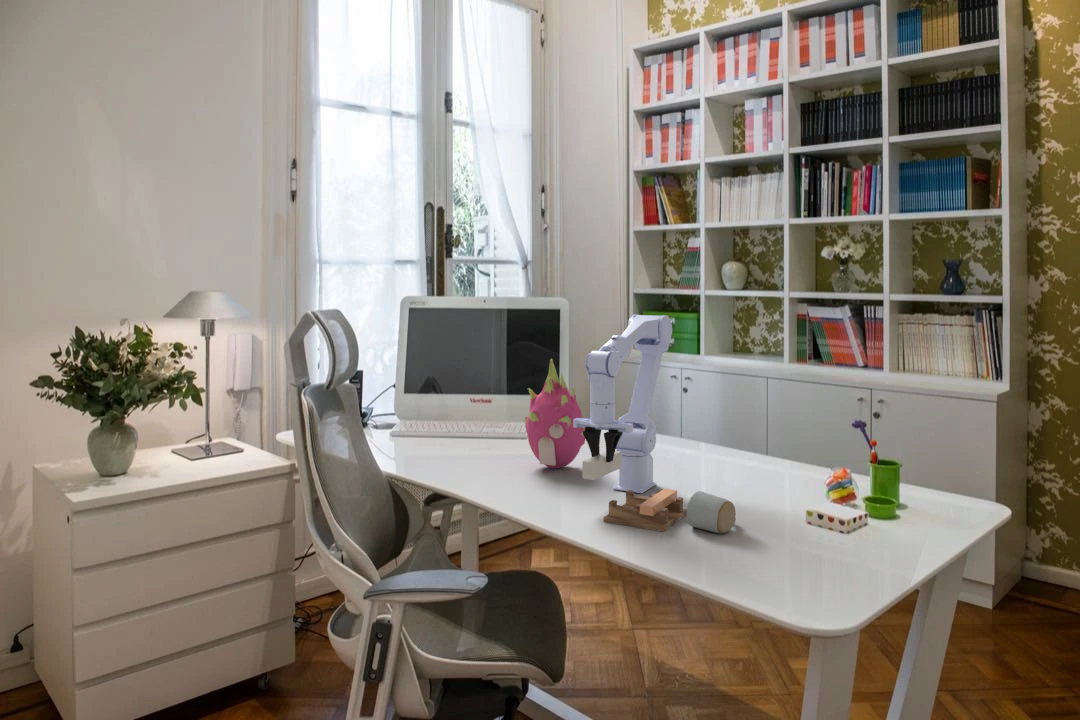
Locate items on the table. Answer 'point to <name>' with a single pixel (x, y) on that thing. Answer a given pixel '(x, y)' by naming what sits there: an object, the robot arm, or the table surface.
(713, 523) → the grey cylinder
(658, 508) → the fired strip
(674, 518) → the slotted wooden stand
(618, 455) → the pale grey bar
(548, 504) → the table surface
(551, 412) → the pink dragon fruit
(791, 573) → the table surface
